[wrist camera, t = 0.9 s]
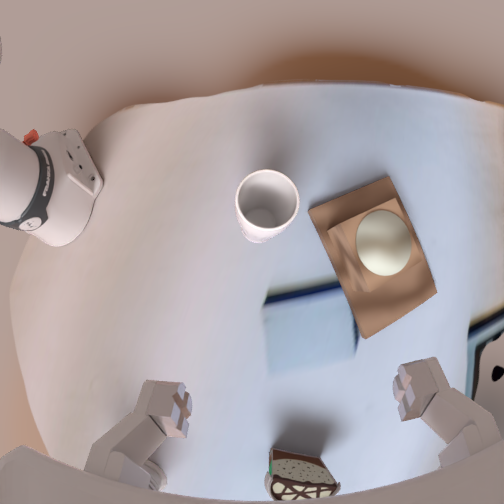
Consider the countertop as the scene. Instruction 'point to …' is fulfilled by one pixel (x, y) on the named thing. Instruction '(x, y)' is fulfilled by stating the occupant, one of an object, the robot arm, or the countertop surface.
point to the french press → (155, 476)
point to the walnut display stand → (374, 254)
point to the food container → (298, 477)
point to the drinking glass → (265, 204)
